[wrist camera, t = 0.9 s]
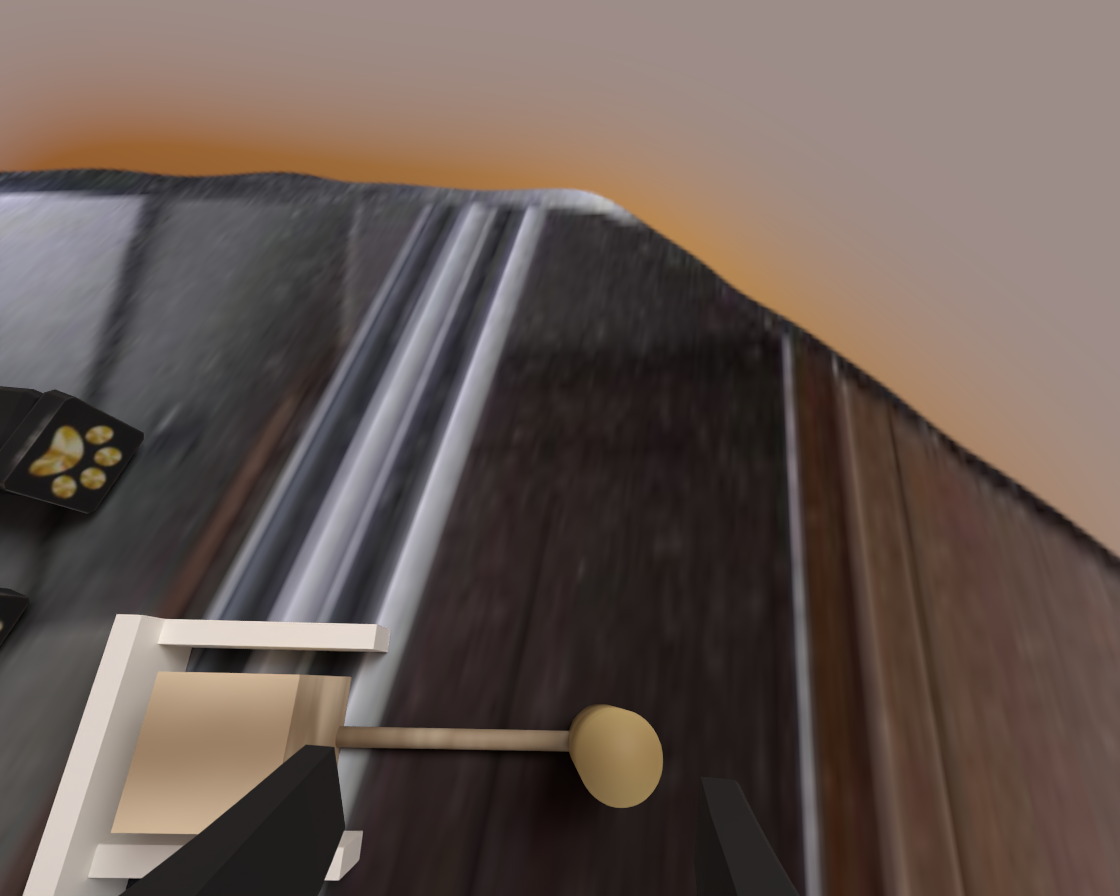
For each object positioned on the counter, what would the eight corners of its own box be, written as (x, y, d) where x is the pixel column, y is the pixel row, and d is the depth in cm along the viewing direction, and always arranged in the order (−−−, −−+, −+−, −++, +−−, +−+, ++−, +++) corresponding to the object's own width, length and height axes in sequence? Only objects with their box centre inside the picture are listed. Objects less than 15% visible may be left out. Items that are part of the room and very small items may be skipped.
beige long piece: (636, 804, 23) (666, 840, 18) (212, 797, 23) (110, 833, 17) (632, 683, 25) (659, 682, 20) (241, 674, 25) (158, 671, 19)
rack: (320, 1138, 19) (270, 1245, 15) (27, 1139, 19) (-96, 1249, 15) (391, 629, 26) (367, 620, 22) (176, 624, 26) (116, 614, 22)
